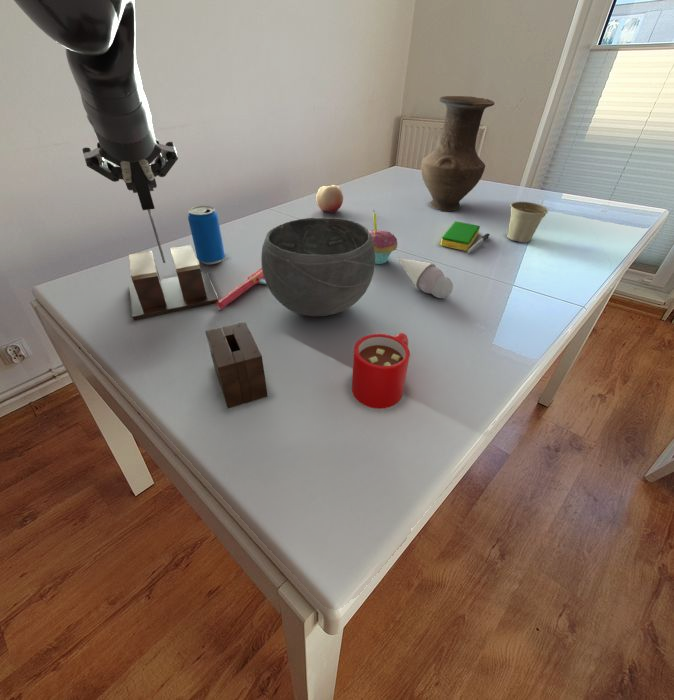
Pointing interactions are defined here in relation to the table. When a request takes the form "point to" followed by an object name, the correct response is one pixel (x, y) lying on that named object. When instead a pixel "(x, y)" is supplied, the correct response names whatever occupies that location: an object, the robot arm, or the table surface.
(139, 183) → the black block with pin
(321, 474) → the table surface
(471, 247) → the knife
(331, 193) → the fruit
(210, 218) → the beverage can
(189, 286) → the slotted block
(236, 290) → the pink plastic rod
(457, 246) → the dish sponge
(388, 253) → the cupcake
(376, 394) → the mug
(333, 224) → the bowl
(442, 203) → the vase
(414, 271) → the ice cream cone
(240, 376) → the knife block
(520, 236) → the flower pot
